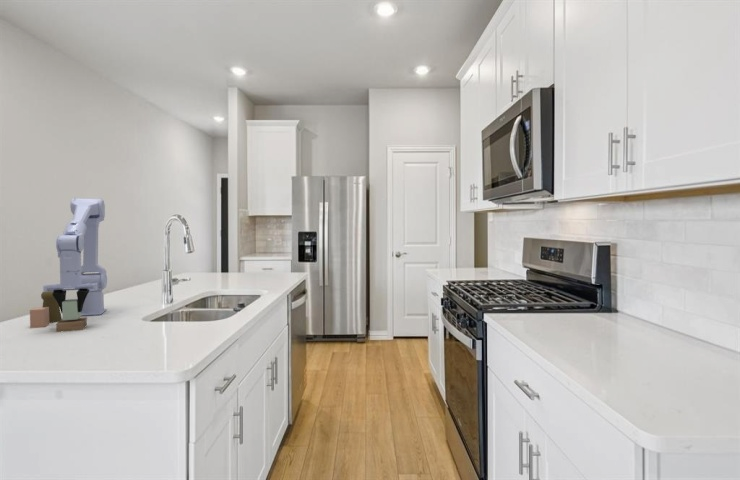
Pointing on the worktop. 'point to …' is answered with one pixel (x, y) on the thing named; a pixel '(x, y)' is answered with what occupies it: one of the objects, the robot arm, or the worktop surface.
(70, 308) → the sage block
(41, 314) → the terracotta block
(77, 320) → the walnut board
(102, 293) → the robot arm
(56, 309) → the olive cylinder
